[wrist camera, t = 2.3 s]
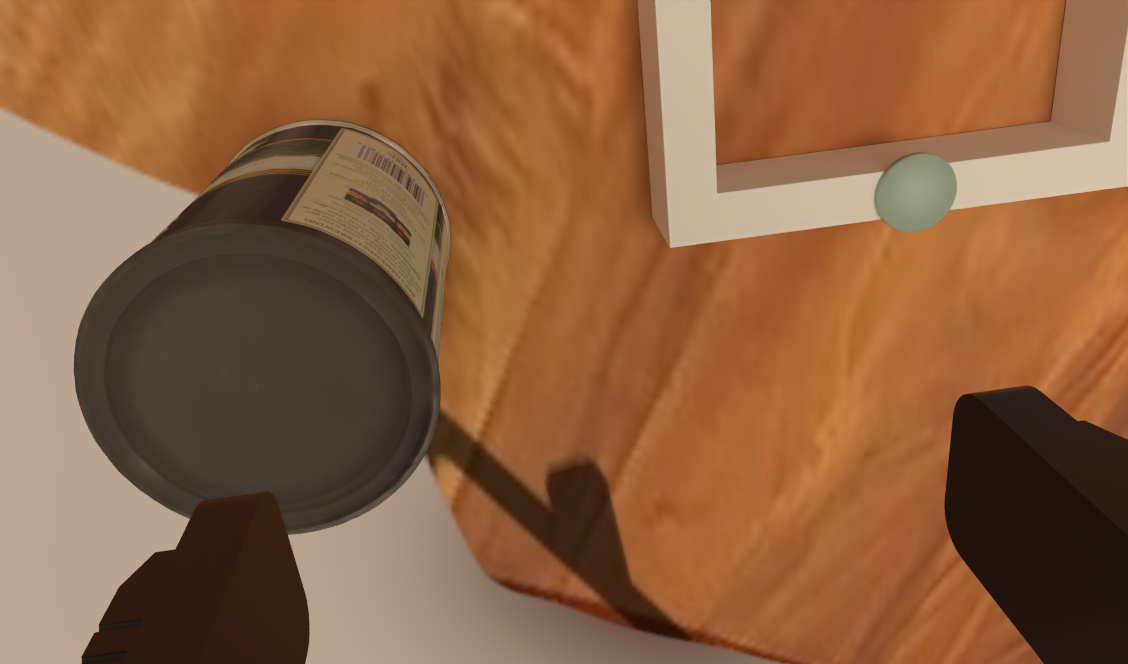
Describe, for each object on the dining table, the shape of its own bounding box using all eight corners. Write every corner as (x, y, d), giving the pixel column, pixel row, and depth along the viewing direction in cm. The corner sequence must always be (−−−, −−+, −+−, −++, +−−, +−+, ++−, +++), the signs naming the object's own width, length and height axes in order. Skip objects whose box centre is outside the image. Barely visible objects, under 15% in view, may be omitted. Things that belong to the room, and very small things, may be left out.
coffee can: (198, 318, 39) (62, 508, 26) (225, 90, 35) (81, 183, 22) (426, 364, 41) (402, 562, 28) (476, 153, 37) (475, 273, 24)
